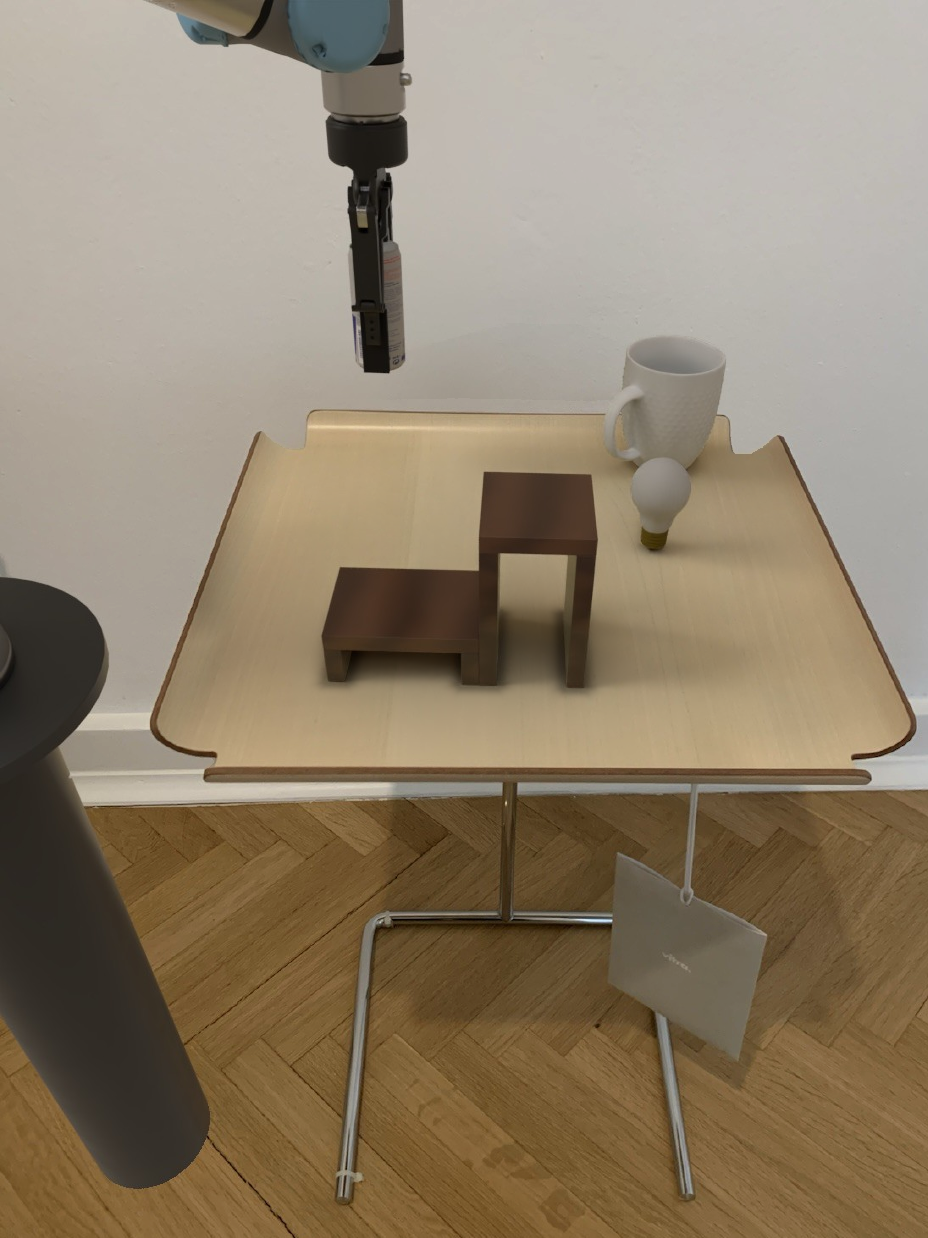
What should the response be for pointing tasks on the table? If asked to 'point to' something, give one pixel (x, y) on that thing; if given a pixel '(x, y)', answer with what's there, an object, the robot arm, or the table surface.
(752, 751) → the table surface
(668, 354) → the mug
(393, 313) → the energy drink
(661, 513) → the light bulb
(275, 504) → the table surface
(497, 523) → the shelf
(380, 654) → the table surface
